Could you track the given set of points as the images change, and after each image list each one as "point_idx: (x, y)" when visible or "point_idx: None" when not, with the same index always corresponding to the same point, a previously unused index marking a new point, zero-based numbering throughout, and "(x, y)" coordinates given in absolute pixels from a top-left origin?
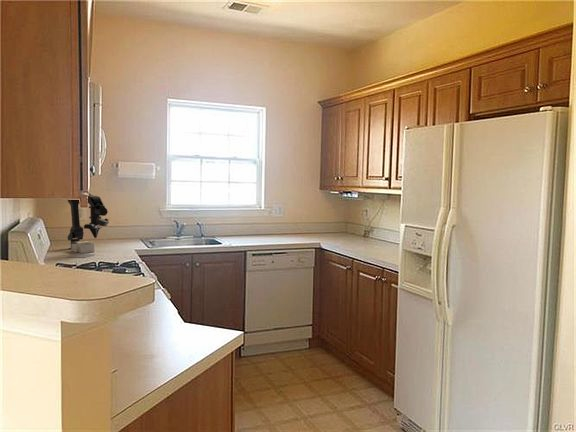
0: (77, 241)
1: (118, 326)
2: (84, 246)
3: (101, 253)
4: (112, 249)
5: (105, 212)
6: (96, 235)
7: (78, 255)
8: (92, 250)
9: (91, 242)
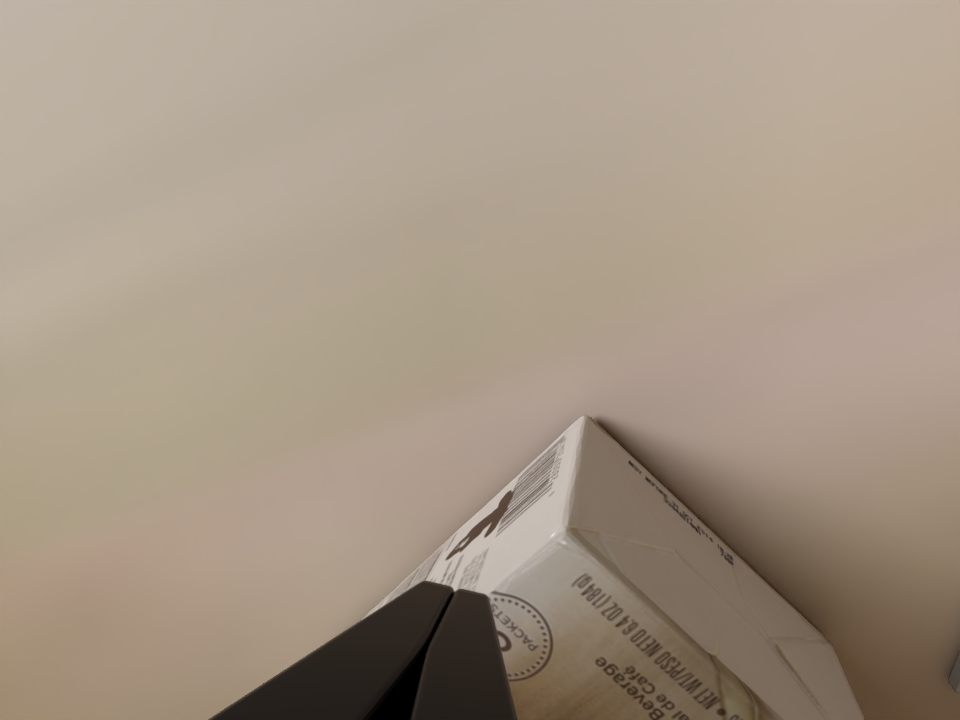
0: None
1: None
2: (815, 713)
3: (828, 123)
4: (108, 113)
5: None
6: (447, 664)
7: None
8: (619, 461)
9: None
